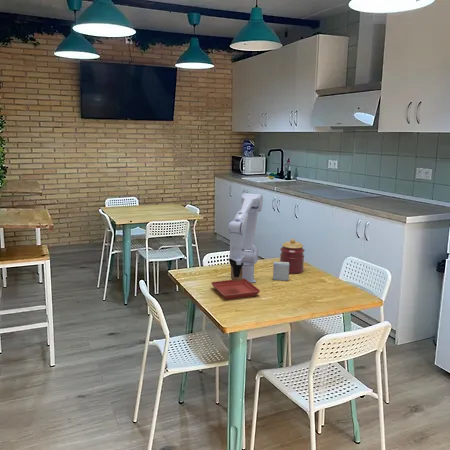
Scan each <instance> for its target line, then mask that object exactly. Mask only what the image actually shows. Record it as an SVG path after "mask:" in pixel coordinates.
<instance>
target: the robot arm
mask: <svg viewBox="0 0 450 450" xmlns="http://www.w3.org/2000/svg"><path fill="white" fill-rule="evenodd" d="M240 197H241V199H240V202H241V208H240V209H239V210H238V211H237V212H236V214H235V215H234V218H233V220H232V221H230V222H229V223H228V227H227V231H228V236H229V255H228V262H229V264H230V266H231V265H232V267H233V273H234V277H239V275H240V271H241V268H243V272H242V279H246V280H247V281H249V282H250V283H251V284H253V283H257V281H256V279H255V264H257V263H258V259H259V250H258V248H257V246H255V243H254V242H255V235H256V226H257V222H258V221H257V220H258V215H259V213H260V212H261V211H262V209H263V201H264V200H263V199H264V198H263V195H262V193H250V192H249V193H246V192H243V193H242V194H241V196H240ZM244 233H245V234H244ZM243 235H244V238H243ZM243 239H244V240H243Z"/></svg>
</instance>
